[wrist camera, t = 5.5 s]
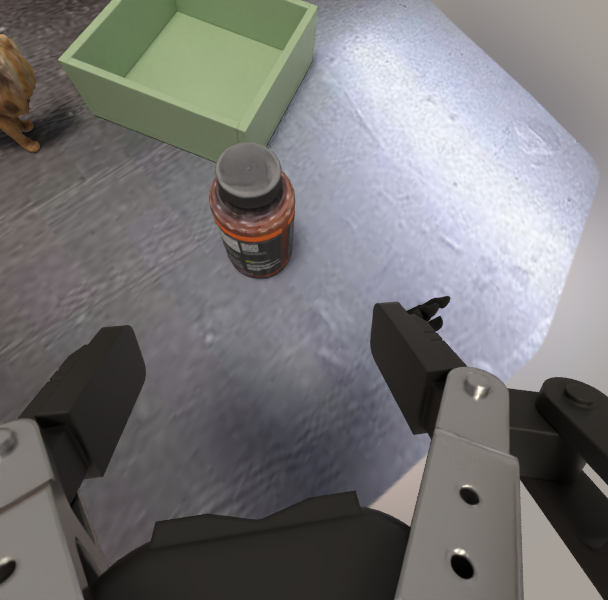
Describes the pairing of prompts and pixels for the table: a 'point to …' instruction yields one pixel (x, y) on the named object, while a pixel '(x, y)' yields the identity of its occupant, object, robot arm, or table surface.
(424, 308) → the black animal figurine
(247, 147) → the supplement bottle
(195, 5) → the desk bin
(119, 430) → the robot arm
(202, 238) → the table surface
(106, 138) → the table surface
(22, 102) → the lion figurine
